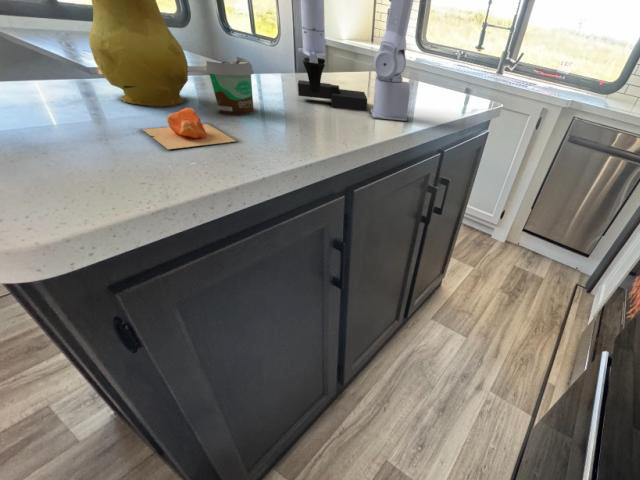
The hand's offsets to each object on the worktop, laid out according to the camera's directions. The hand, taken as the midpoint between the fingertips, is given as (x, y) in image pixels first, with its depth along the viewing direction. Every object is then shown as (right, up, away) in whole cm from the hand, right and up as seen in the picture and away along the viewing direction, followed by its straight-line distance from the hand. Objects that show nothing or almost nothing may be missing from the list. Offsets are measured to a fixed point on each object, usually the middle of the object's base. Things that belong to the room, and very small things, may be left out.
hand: (315, 90), depth 95 cm
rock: (-16, -29, -32) cm, 46 cm away
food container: (-13, -15, -15) cm, 25 cm away
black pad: (+1, -1, +1) cm, 2 cm away
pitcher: (-34, -13, -17) cm, 40 cm away
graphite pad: (+9, -2, +4) cm, 10 cm away
